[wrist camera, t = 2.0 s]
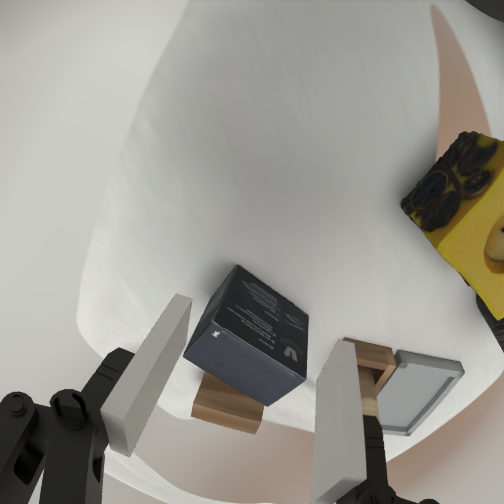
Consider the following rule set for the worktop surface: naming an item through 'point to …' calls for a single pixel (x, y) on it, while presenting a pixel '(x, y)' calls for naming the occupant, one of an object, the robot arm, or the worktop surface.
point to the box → (251, 339)
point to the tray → (414, 391)
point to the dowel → (368, 392)
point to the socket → (375, 360)
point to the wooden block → (226, 406)
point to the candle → (466, 213)
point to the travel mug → (492, 321)
